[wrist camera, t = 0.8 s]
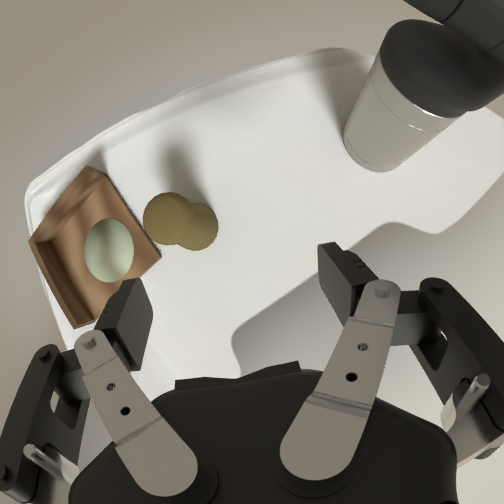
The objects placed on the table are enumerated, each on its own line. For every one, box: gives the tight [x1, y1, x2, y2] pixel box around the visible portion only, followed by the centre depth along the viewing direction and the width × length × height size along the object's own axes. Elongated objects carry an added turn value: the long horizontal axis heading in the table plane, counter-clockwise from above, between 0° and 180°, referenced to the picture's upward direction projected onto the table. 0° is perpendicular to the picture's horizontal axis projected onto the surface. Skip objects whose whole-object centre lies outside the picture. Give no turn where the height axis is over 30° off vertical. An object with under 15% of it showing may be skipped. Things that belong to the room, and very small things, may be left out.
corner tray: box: [28, 166, 162, 329], centre depth 35 cm, size 16×16×5 cm
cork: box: [143, 192, 218, 251], centre depth 31 cm, size 6×6×11 cm
